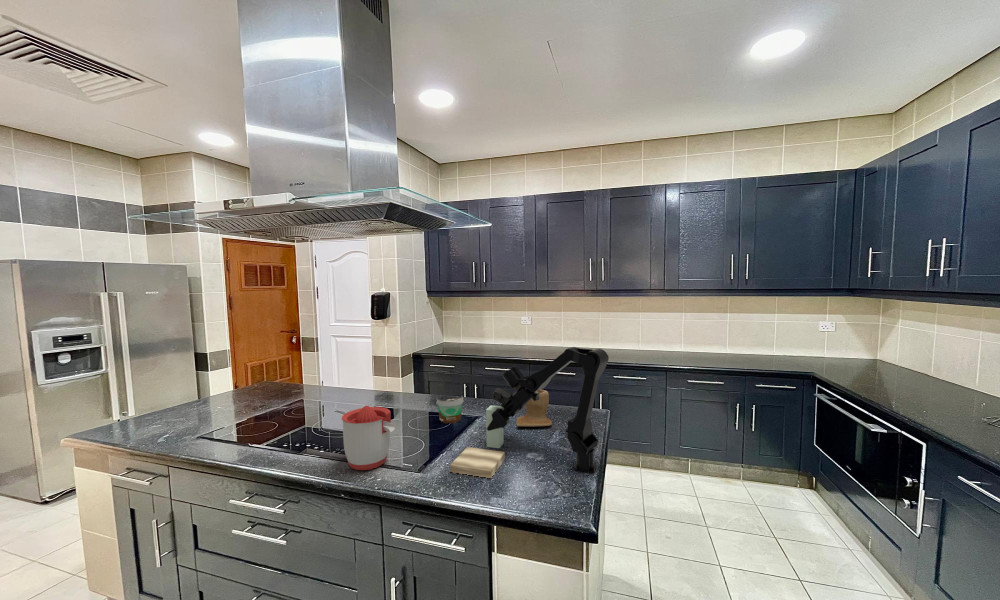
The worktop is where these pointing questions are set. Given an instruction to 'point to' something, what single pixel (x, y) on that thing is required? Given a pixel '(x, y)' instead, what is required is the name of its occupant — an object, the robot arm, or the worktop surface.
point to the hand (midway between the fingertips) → (491, 425)
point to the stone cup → (536, 412)
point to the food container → (450, 410)
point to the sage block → (496, 435)
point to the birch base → (478, 462)
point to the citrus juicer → (367, 436)
